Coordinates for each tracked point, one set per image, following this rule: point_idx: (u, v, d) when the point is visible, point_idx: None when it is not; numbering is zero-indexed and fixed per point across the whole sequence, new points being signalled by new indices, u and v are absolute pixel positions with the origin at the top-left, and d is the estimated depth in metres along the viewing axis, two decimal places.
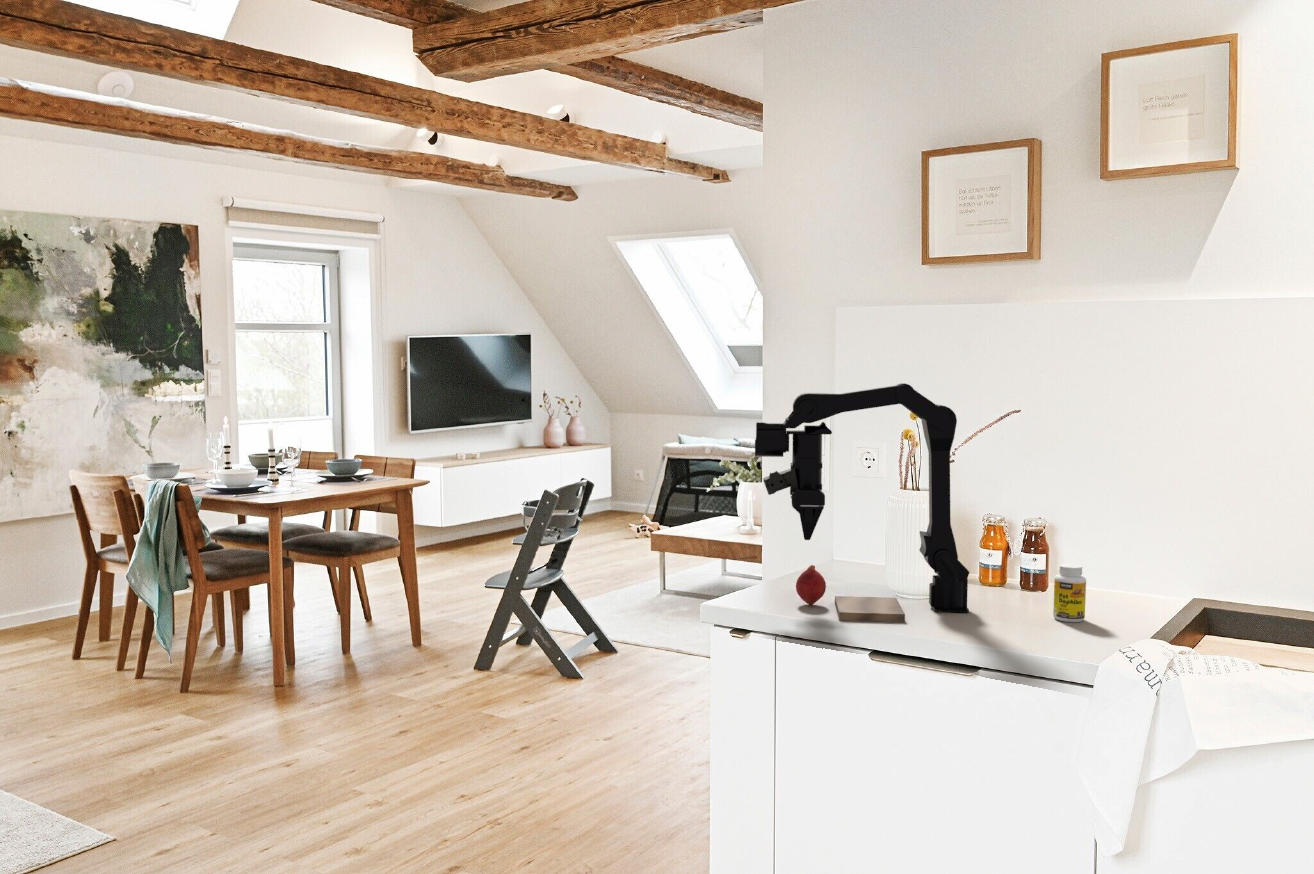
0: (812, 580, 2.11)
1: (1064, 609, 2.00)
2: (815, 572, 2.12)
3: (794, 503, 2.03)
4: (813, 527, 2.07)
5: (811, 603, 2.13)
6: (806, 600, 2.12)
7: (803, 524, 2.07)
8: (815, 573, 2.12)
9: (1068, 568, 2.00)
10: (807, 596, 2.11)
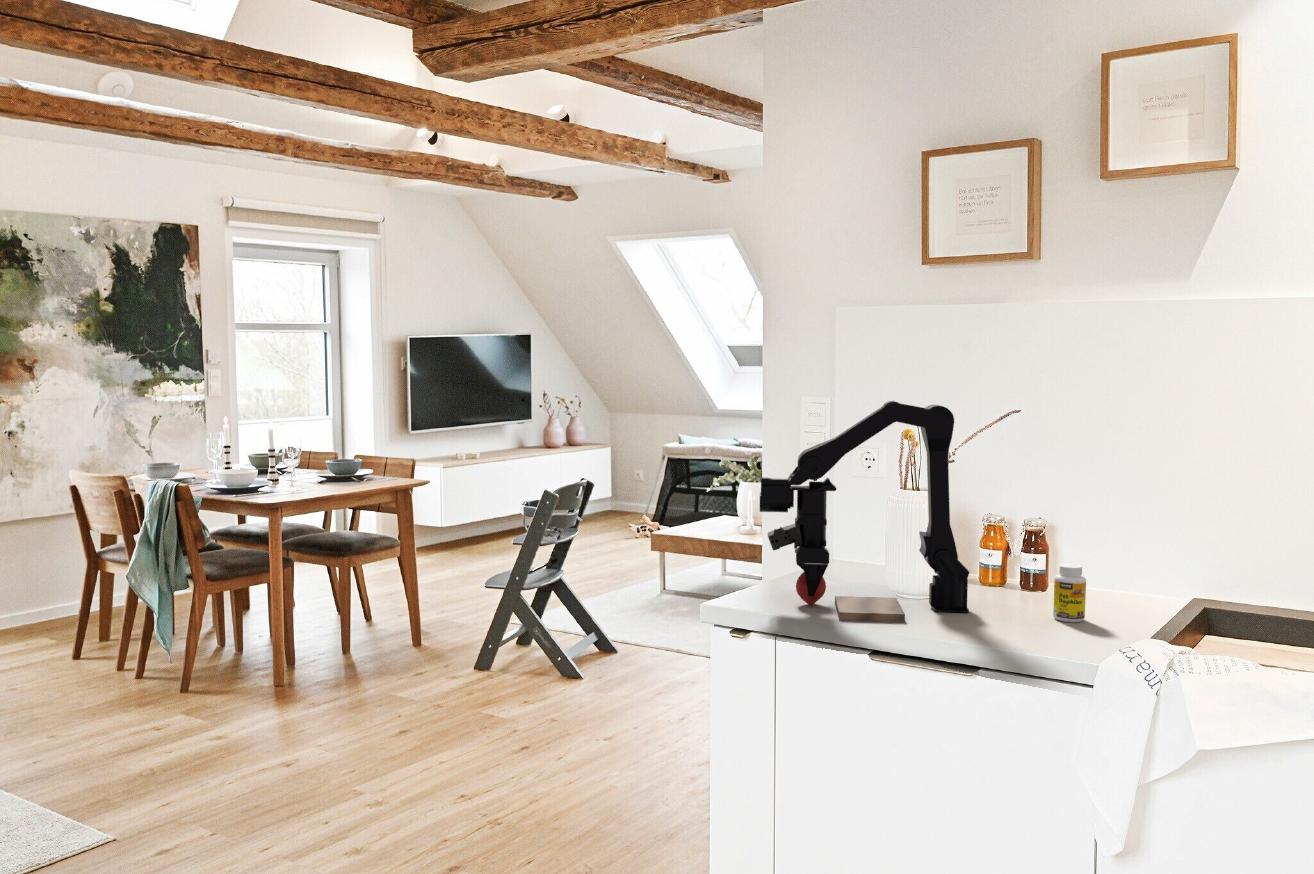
0: None
1: (1064, 609, 2.00)
2: None
3: (798, 561, 2.04)
4: (817, 584, 2.08)
5: (811, 603, 2.13)
6: (806, 600, 2.12)
7: (807, 581, 2.08)
8: None
9: (1068, 568, 2.00)
10: (807, 596, 2.11)
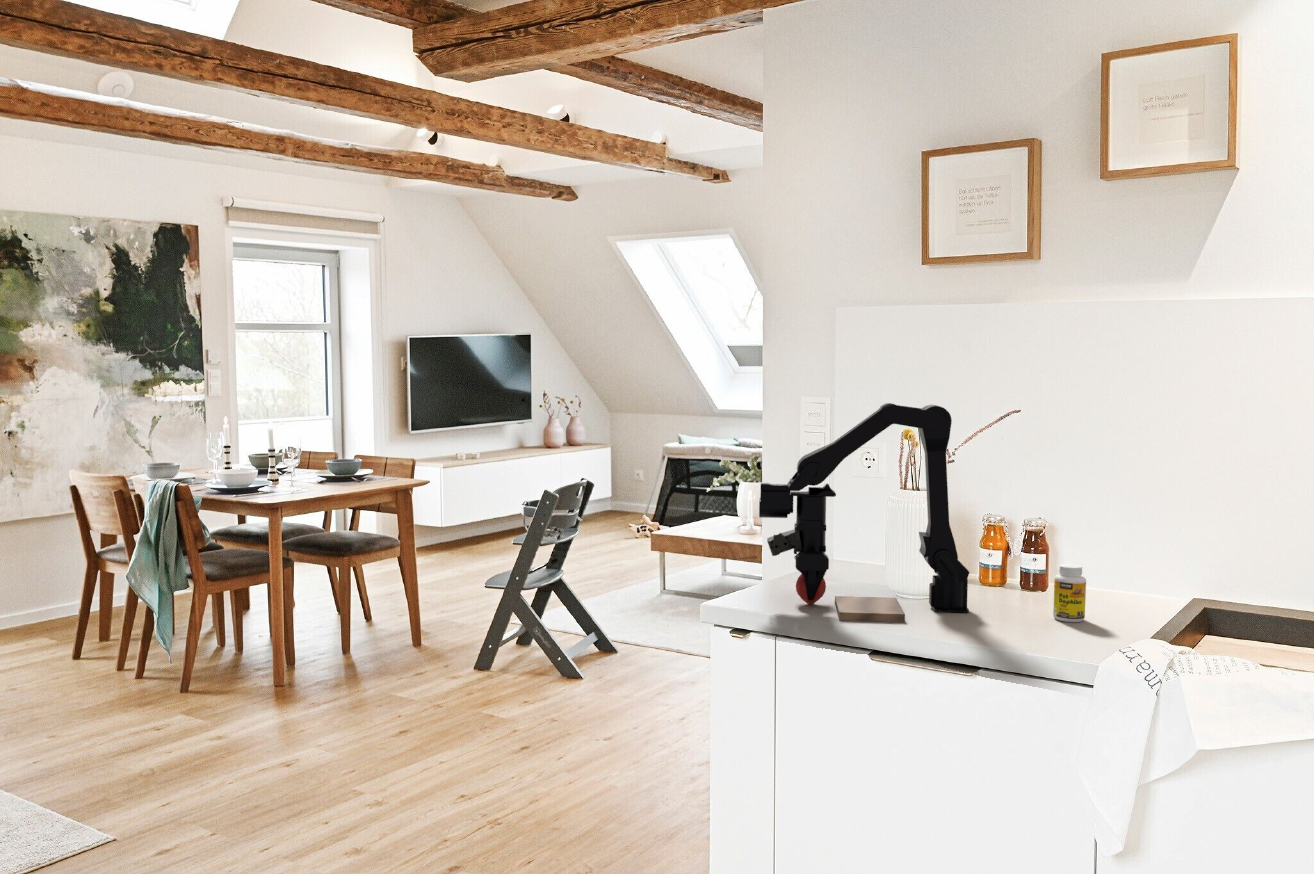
0: None
1: (1064, 609, 2.00)
2: None
3: (798, 567, 2.04)
4: (816, 588, 2.09)
5: (811, 603, 2.13)
6: (806, 600, 2.12)
7: (806, 585, 2.09)
8: None
9: (1068, 568, 2.00)
10: None
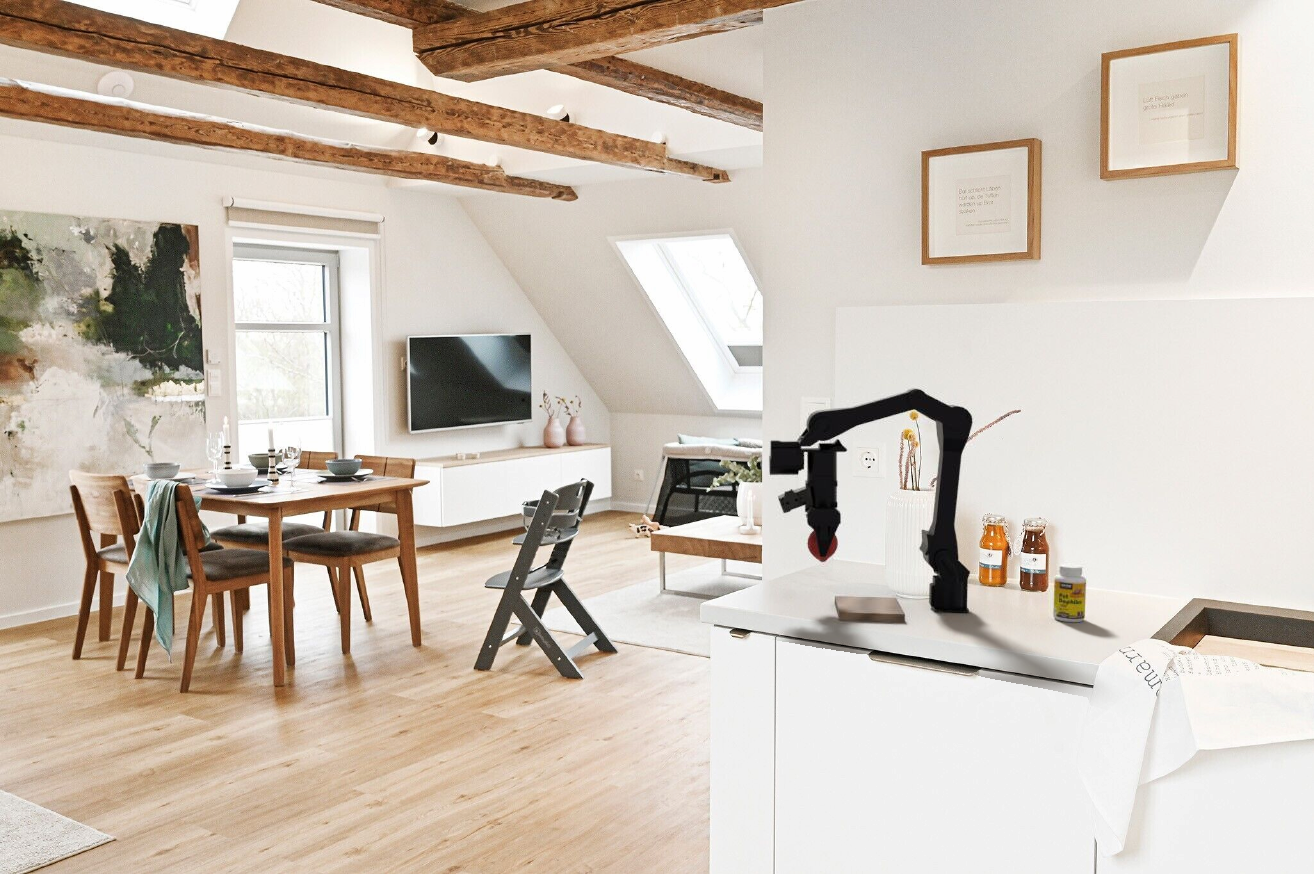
0: None
1: (1064, 609, 2.00)
2: None
3: (810, 522, 2.02)
4: (828, 544, 2.07)
5: (823, 560, 2.11)
6: (818, 557, 2.10)
7: (818, 541, 2.07)
8: None
9: (1068, 568, 2.00)
10: None
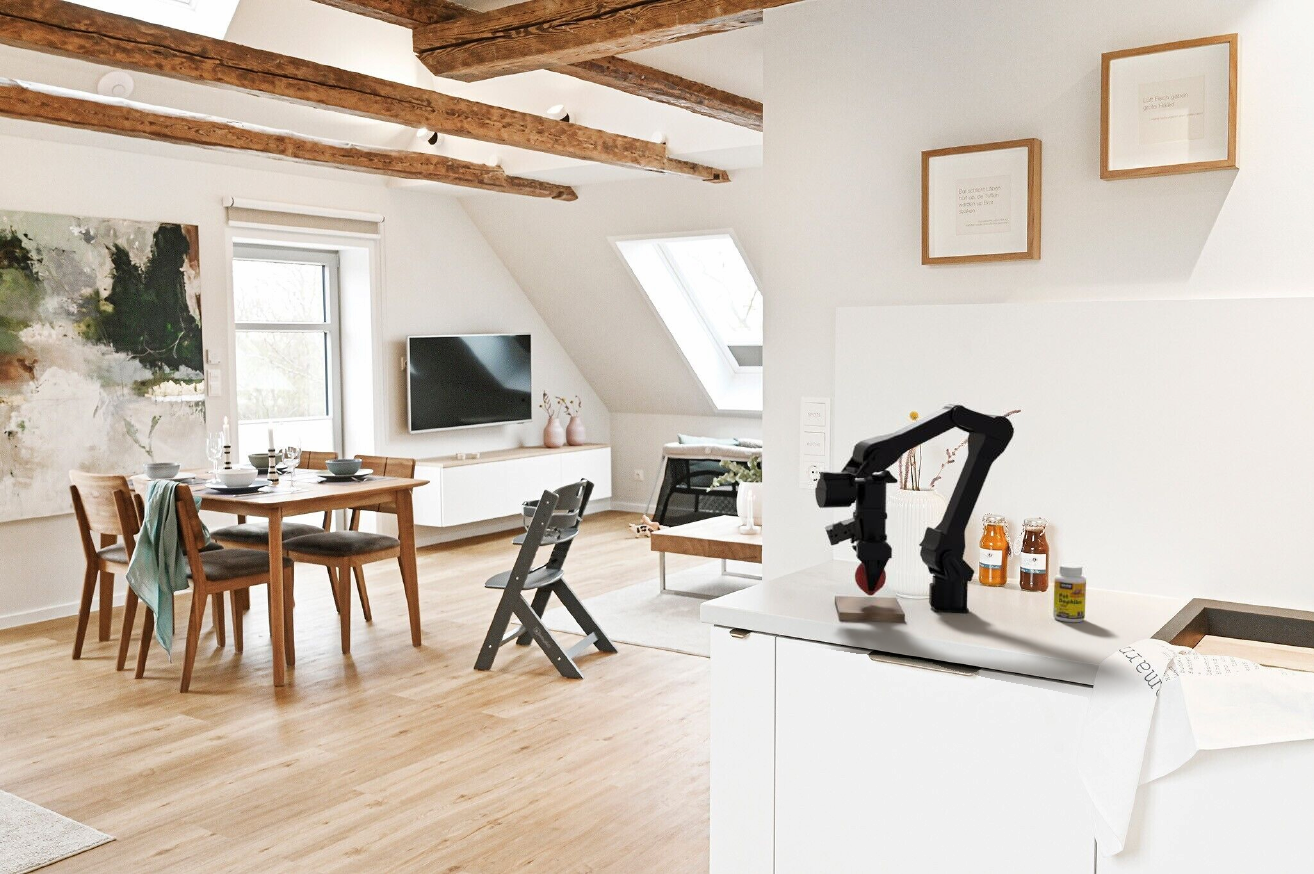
0: None
1: (1064, 609, 2.00)
2: None
3: (860, 556, 1.98)
4: (877, 578, 2.03)
5: (871, 593, 2.06)
6: (866, 590, 2.06)
7: (867, 575, 2.03)
8: None
9: (1068, 568, 2.00)
10: None
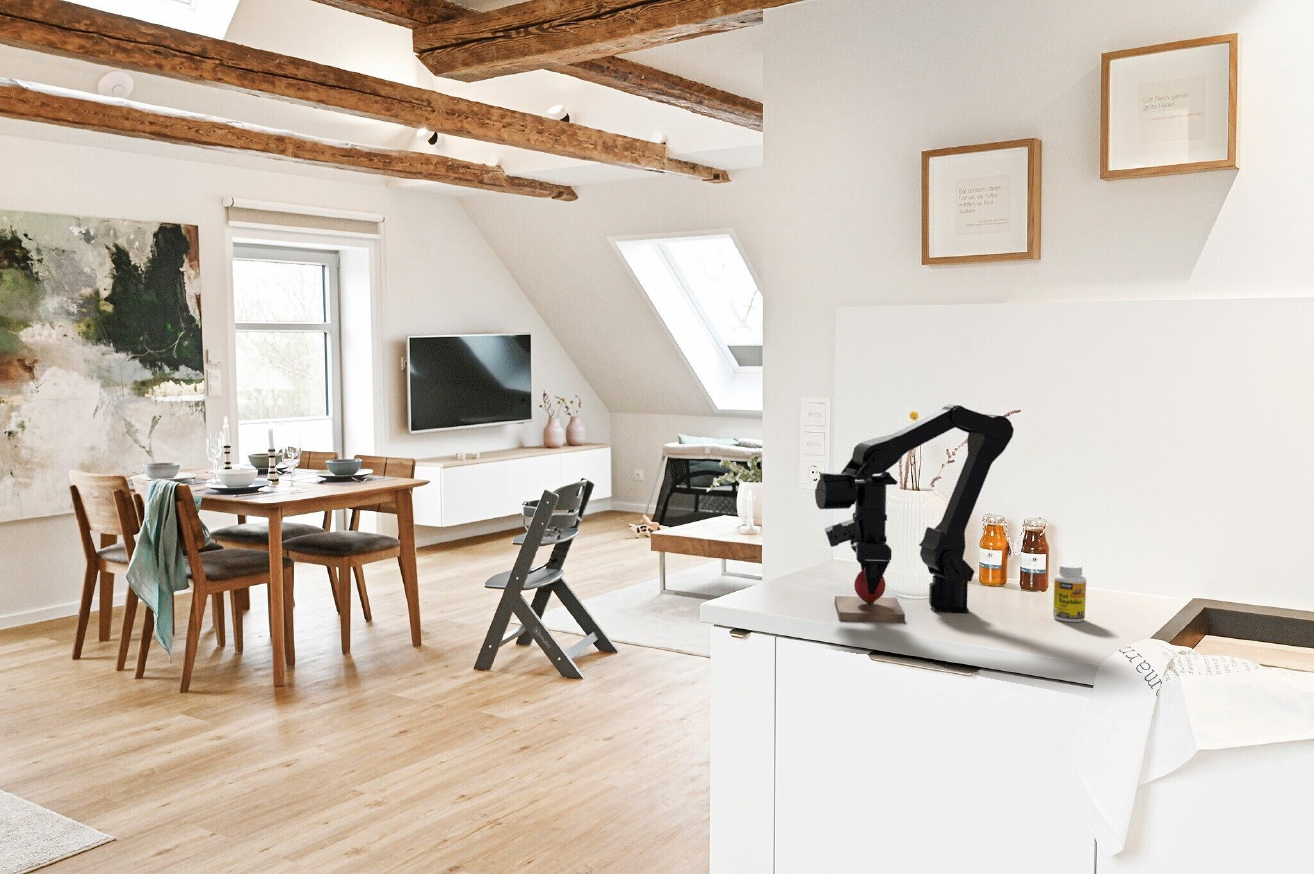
0: None
1: (1064, 609, 2.00)
2: None
3: (860, 557, 1.98)
4: (878, 581, 2.01)
5: (870, 602, 2.07)
6: (865, 599, 2.06)
7: (868, 578, 2.01)
8: None
9: (1068, 568, 2.00)
10: (867, 595, 2.05)
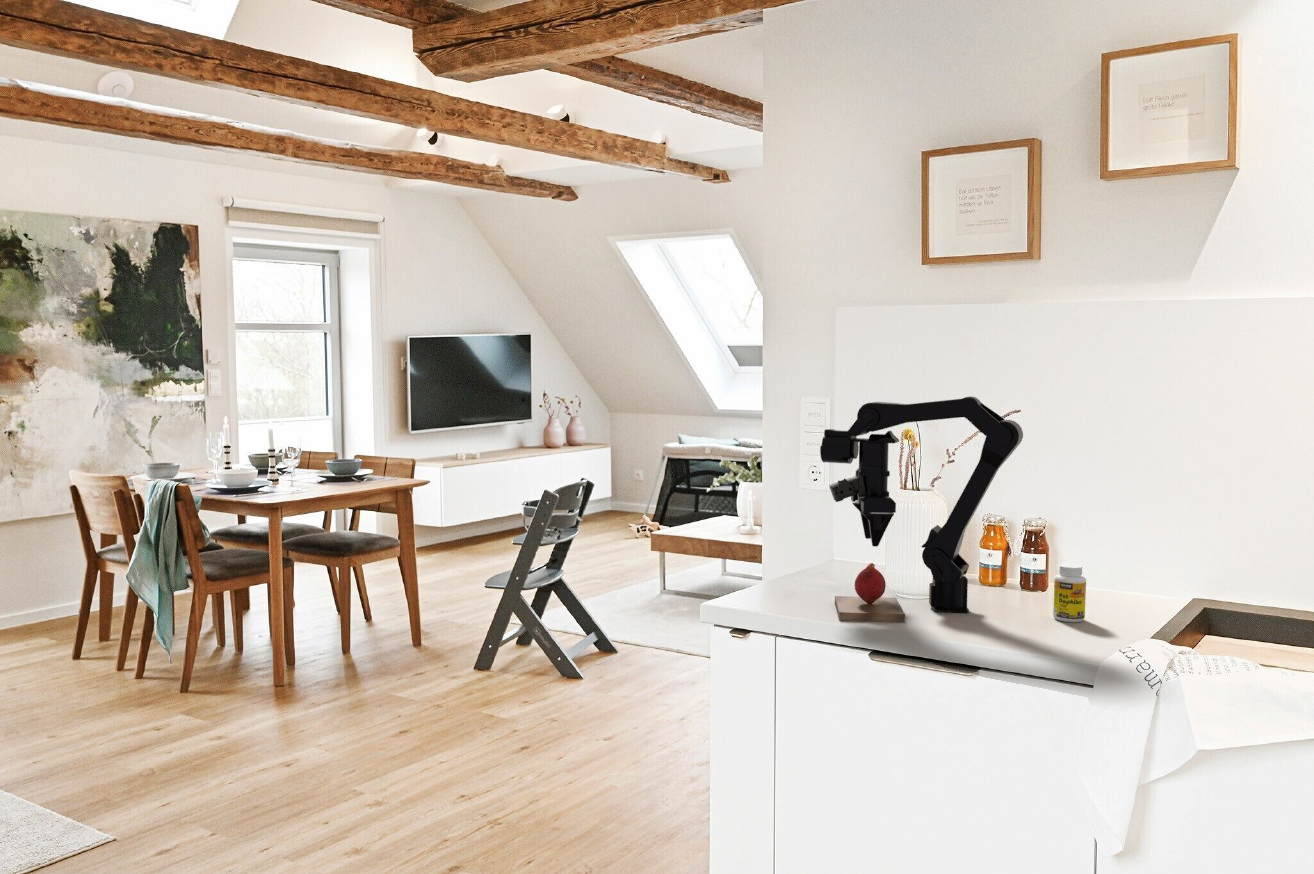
0: (872, 579, 2.05)
1: (1064, 609, 2.00)
2: (875, 570, 2.06)
3: (866, 510, 2.07)
4: (882, 534, 2.11)
5: (870, 602, 2.07)
6: (865, 599, 2.06)
7: (872, 531, 2.11)
8: (875, 571, 2.06)
9: (1068, 568, 2.00)
10: (867, 595, 2.05)
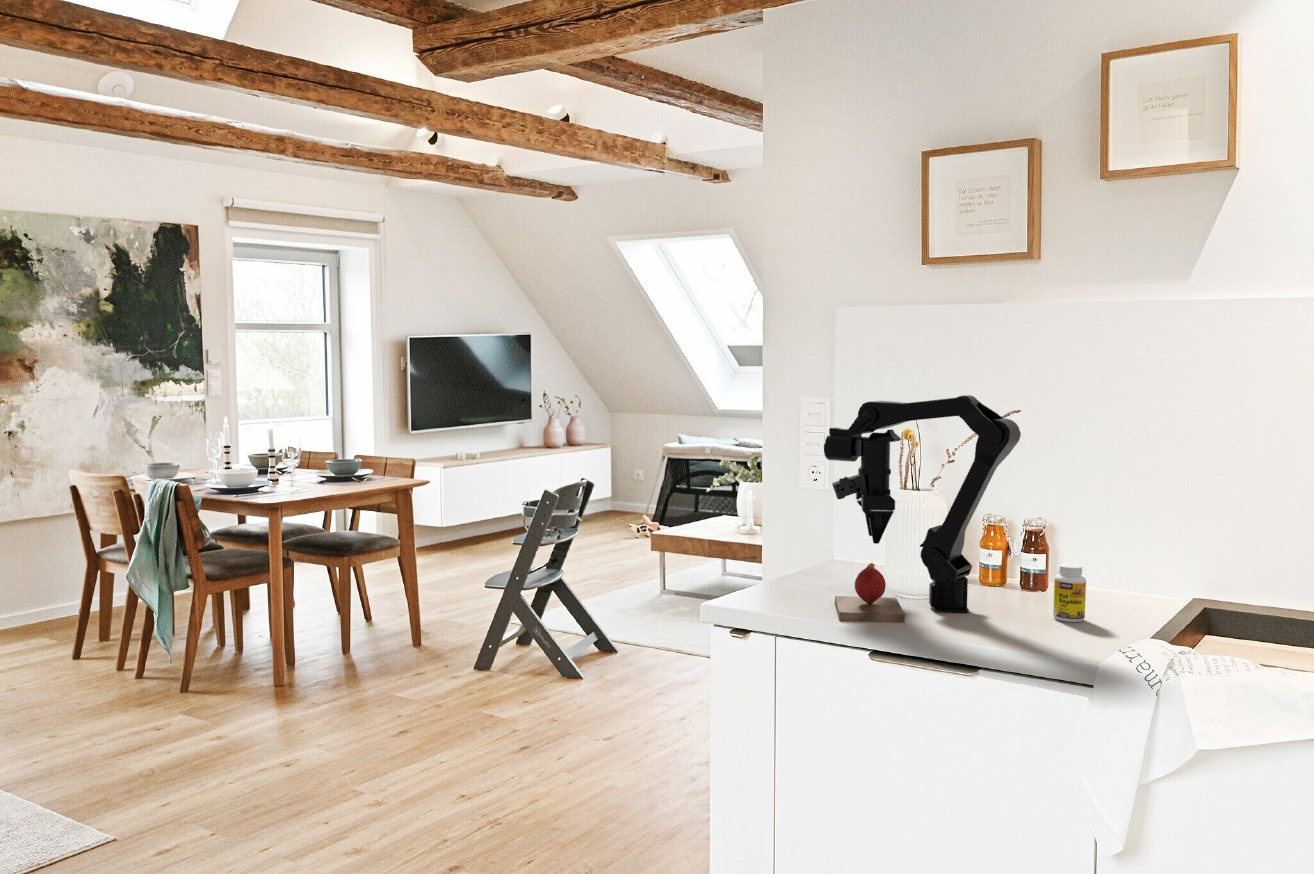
0: (872, 579, 2.05)
1: (1064, 609, 2.00)
2: (875, 570, 2.06)
3: (865, 508, 2.10)
4: (882, 531, 2.13)
5: (870, 602, 2.07)
6: (865, 599, 2.06)
7: (872, 528, 2.13)
8: (875, 571, 2.06)
9: (1068, 568, 2.00)
10: (867, 595, 2.05)
